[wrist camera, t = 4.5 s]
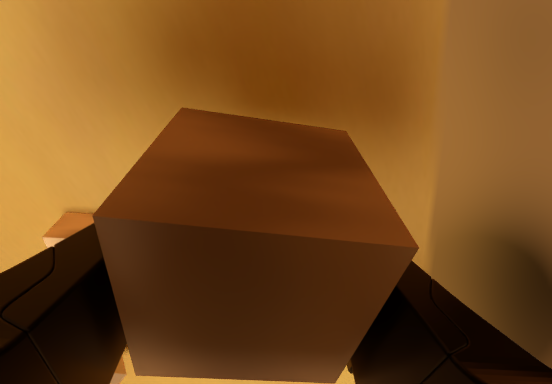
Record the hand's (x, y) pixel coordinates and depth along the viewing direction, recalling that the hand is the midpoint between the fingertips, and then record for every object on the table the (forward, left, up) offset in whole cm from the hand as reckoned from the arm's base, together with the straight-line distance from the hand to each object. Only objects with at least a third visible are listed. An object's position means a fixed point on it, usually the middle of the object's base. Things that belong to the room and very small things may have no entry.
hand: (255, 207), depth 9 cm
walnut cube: (0, 0, -1) cm, 1 cm away
